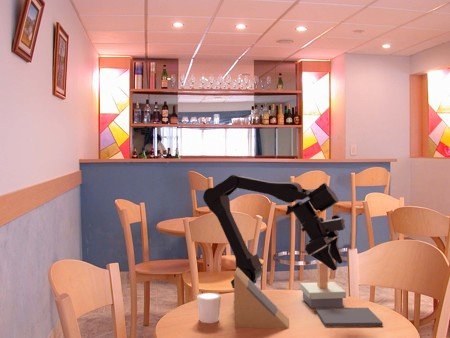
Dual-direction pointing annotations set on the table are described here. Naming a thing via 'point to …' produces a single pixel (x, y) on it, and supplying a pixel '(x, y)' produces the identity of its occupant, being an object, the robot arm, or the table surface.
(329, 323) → the mat
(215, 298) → the white cup
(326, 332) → the table surface
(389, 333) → the table surface
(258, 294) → the sandwich container
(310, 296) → the lid
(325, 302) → the grey square block
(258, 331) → the table surface
